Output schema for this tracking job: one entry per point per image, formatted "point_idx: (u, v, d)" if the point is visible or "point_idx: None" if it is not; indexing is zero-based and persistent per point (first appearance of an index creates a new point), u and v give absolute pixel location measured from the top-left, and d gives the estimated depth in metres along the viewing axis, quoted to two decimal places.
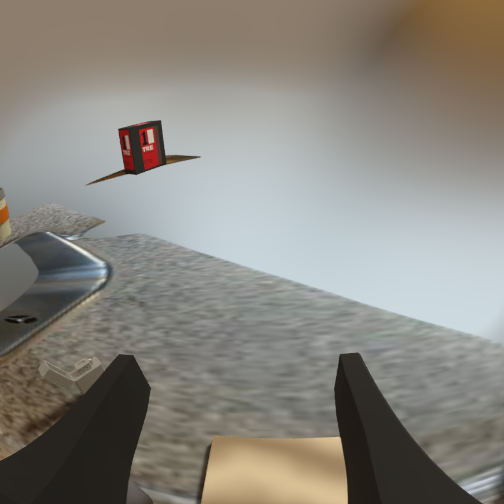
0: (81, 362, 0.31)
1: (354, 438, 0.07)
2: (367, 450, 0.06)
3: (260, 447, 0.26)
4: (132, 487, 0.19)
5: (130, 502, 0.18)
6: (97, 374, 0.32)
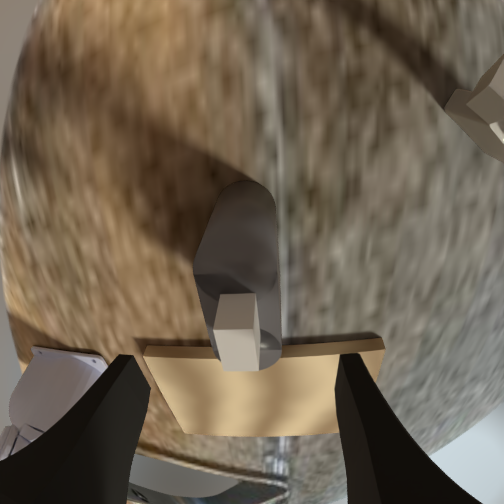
0: None
1: (354, 438, 0.07)
2: (367, 450, 0.06)
3: None
4: None
5: None
6: None
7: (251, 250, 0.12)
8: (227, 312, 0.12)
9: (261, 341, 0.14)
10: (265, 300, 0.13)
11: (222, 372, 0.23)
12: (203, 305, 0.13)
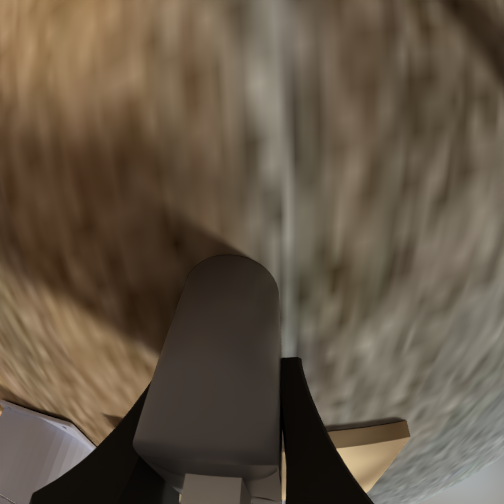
0: None
1: (285, 443, 0.08)
2: (286, 457, 0.06)
3: (376, 466, 0.17)
4: None
5: None
6: None
7: (230, 448, 0.05)
8: None
9: (253, 501, 0.08)
10: (257, 482, 0.06)
11: None
12: (162, 475, 0.07)
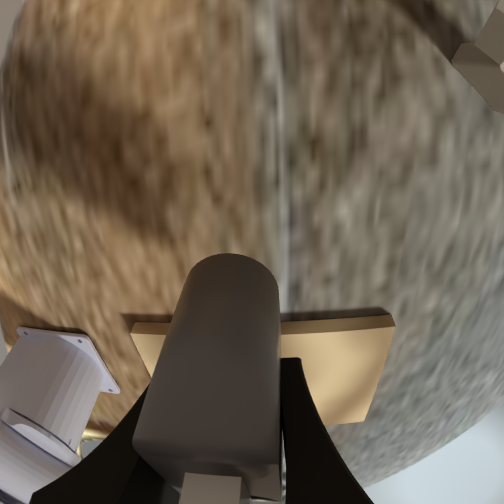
0: None
1: (285, 443, 0.08)
2: (286, 457, 0.06)
3: (369, 371, 0.21)
4: None
5: None
6: None
7: (230, 447, 0.05)
8: None
9: (252, 500, 0.08)
10: (257, 481, 0.06)
11: None
12: (162, 474, 0.07)
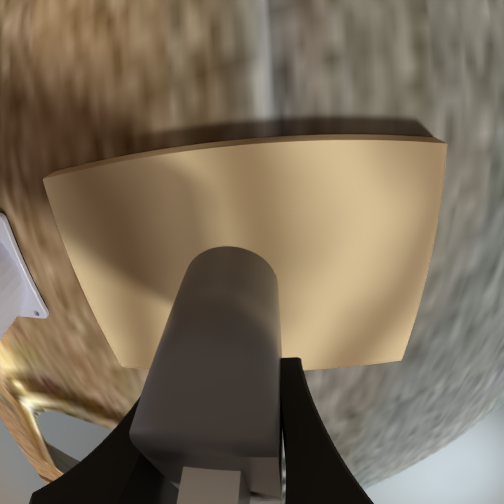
0: None
1: (285, 443, 0.08)
2: (286, 457, 0.06)
3: (414, 243, 0.13)
4: None
5: None
6: None
7: (228, 439, 0.05)
8: None
9: (252, 496, 0.08)
10: (257, 476, 0.06)
11: (159, 193, 0.13)
12: (160, 469, 0.07)
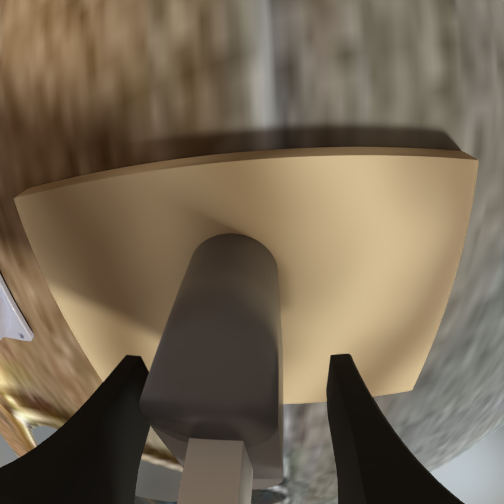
0: None
1: (344, 439, 0.07)
2: (355, 452, 0.06)
3: (435, 273, 0.11)
4: None
5: None
6: None
7: (232, 402, 0.06)
8: (198, 476, 0.06)
9: (254, 473, 0.08)
10: (259, 447, 0.07)
11: (140, 218, 0.11)
12: (166, 443, 0.07)
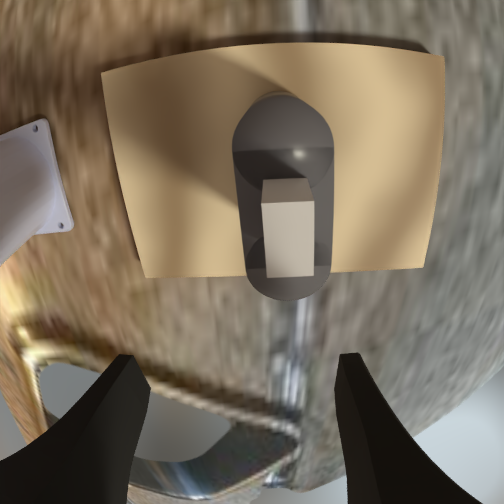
0: None
1: (354, 438, 0.07)
2: (367, 450, 0.06)
3: (426, 137, 0.14)
4: None
5: None
6: None
7: (305, 118, 0.09)
8: (276, 190, 0.09)
9: None
10: (317, 189, 0.10)
11: (213, 80, 0.14)
12: (240, 197, 0.10)
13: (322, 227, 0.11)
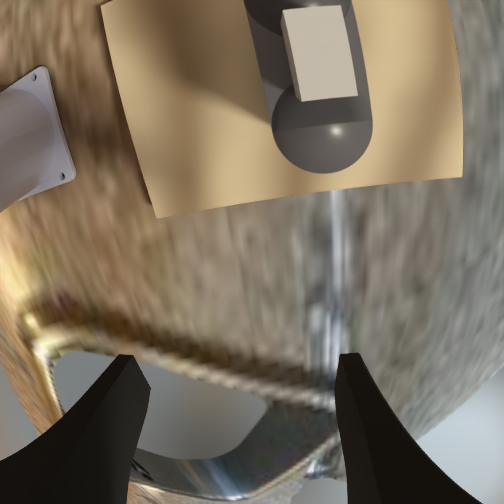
0: None
1: (354, 438, 0.07)
2: (367, 450, 0.06)
3: (437, 33, 0.11)
4: None
5: None
6: None
7: None
8: None
9: (343, 104, 0.09)
10: None
11: None
12: (257, 44, 0.08)
13: (354, 72, 0.08)
